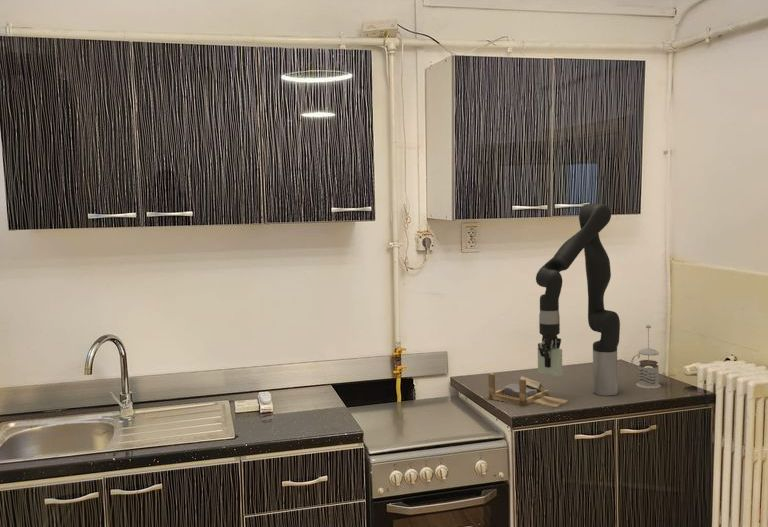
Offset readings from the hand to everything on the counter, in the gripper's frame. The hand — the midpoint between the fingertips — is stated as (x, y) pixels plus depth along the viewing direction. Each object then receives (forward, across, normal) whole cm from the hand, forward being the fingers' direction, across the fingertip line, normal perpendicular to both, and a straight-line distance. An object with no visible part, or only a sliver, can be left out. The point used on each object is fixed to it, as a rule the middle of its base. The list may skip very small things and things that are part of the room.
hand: (550, 366), depth 267 cm
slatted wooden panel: (+14, 0, 0) cm, 14 cm away
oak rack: (+14, -1, +14) cm, 20 cm away
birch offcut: (+12, +7, +13) cm, 19 cm away
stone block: (+15, +2, +14) cm, 20 cm away
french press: (+14, +44, -18) cm, 50 cm away
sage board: (+3, 0, 0) cm, 3 cm away
